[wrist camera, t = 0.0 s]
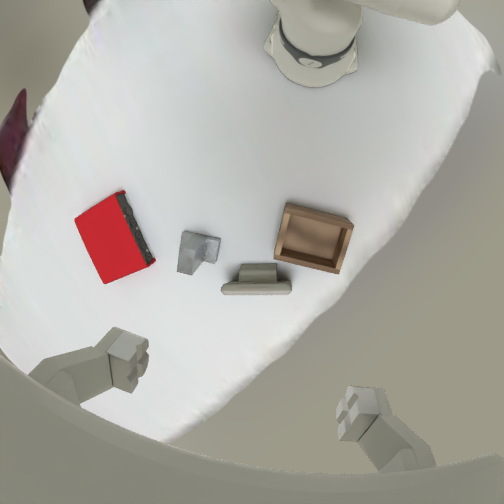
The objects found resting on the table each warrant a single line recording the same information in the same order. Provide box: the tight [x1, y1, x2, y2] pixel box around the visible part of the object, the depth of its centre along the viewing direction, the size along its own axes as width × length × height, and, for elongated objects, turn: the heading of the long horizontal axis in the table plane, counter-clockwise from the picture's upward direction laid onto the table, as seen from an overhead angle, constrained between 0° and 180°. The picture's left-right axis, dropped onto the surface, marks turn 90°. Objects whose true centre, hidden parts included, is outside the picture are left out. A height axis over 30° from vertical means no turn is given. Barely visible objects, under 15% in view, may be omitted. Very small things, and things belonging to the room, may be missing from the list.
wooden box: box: [273, 203, 354, 274], centre depth 55 cm, size 10×13×6 cm
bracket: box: [177, 231, 220, 275], centre depth 57 cm, size 5×8×10 cm, turn 78°
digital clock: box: [221, 264, 292, 295], centre depth 58 cm, size 14×8×9 cm, turn 82°
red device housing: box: [74, 191, 156, 284], centre depth 61 cm, size 18×14×5 cm
